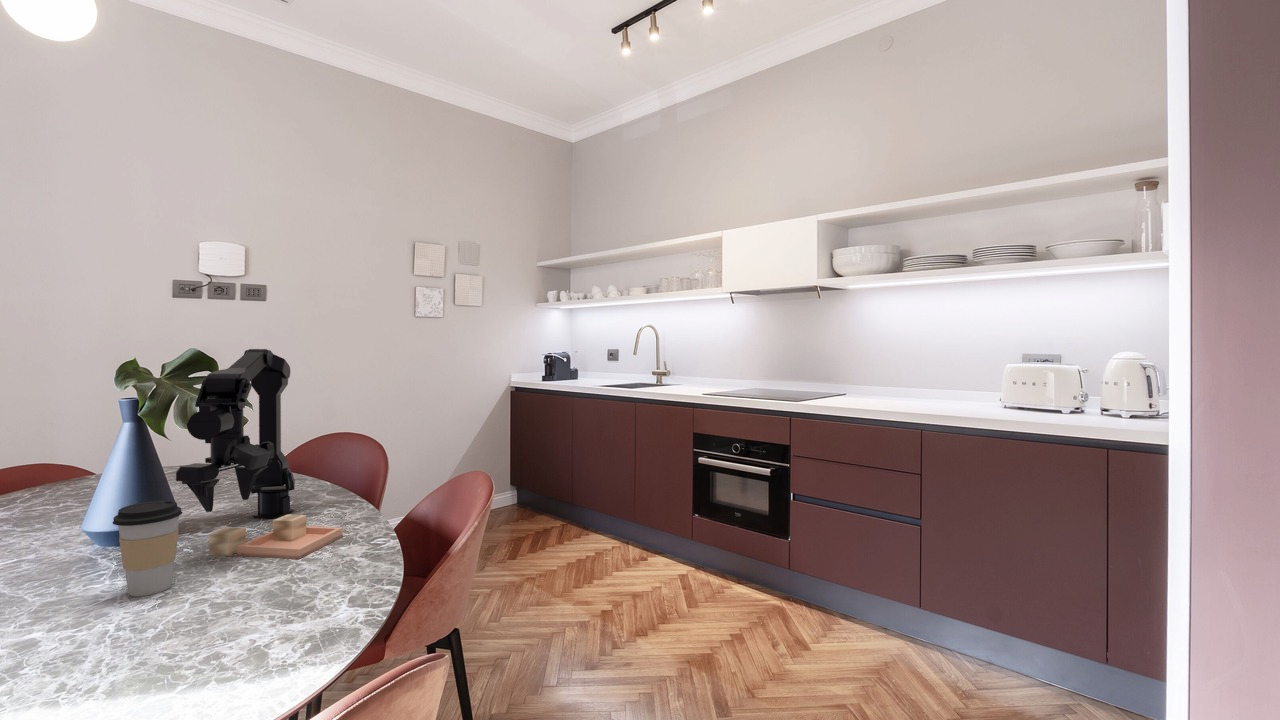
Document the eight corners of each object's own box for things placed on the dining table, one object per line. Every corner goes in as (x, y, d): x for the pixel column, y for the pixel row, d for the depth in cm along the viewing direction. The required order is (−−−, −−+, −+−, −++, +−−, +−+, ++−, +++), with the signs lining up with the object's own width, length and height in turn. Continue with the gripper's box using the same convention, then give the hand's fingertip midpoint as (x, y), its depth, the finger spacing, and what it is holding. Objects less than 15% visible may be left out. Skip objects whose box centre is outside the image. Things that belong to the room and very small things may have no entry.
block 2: (273, 540, 126) (273, 520, 126) (288, 533, 131) (288, 514, 131) (292, 541, 126) (291, 521, 126) (306, 534, 130) (306, 515, 130)
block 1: (209, 555, 119) (208, 533, 119) (227, 547, 124) (226, 526, 124) (228, 556, 119) (228, 534, 119) (246, 548, 123) (245, 527, 123)
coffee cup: (196, 580, 106) (195, 500, 106) (148, 602, 97) (147, 515, 97) (150, 577, 107) (149, 498, 107) (98, 599, 98) (96, 513, 97)
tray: (237, 555, 119) (237, 546, 119) (286, 533, 133) (286, 525, 133) (299, 559, 117) (299, 549, 117) (342, 536, 131) (342, 527, 131)
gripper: (224, 440, 110) (225, 520, 111) (294, 426, 129) (294, 495, 129) (173, 439, 112) (174, 518, 112) (248, 425, 130) (249, 493, 131)
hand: (227, 505), depth 121 cm, fingers open, 9 cm apart
